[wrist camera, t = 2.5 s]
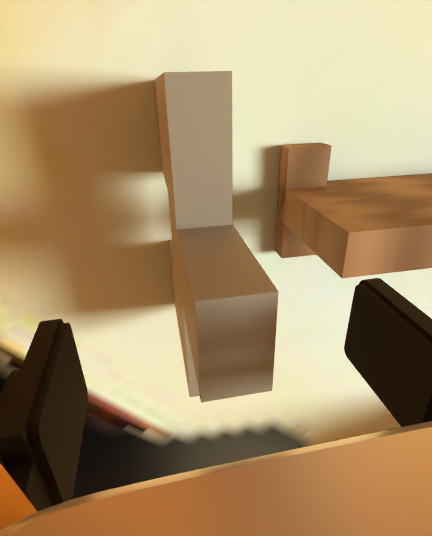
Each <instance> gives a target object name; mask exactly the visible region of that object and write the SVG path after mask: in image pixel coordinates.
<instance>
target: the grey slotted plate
mask: <svg viewBox="0 0 432 536" xmlns="http://www.w3.org/2000/svg"><path fill="white" fill-rule="evenodd" d="M155 90H156V101H157V112H158V123H159V134H160V145H161V156H162V167H163V174H164V178H165V181H166V185H167V189H168V197H169V209H170V220H171V232H172V240H169V244H170V255H171V266H172V277H173V288H174V299H175V307H176V314H177V320H178V326H179V332H180V339H181V345H182V351H183V357H184V364H185V370H186V376H187V382H188V389H189V395H190V397H194V396H200V399H201V402H206V401H212V400H218V399H224V398H230V397H236V396H242V395H248V394H254V393H260V392H266V391H272V384H273V368H274V352H275V336H276V320H277V304H278V290H277V289H276V287H275V286H274V284H273V283H272V282H271V280H270V279H269V277H268V276H267V274H266V273H265V271H264V270H263V268H262V267H261V265H260V264H259V263H258V261H257V260H256V258H255V257H254V255H253V254H252V252H251V251H250V249H249V248H248V247H247V245H246V244H245V242H244V241H243V239H242V238H241V236H240V235H239V233H238V232H237V230H236V229H235V228H234V226H233V213H232V71H213V72H164V73H163V74H162V75H160V76H159V77H158V78H156V79H155Z"/></svg>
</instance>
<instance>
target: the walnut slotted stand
mask: <svg viewBox="0 0 432 536" xmlns="http://www.w3.org/2000/svg"><path fill="white" fill-rule="evenodd" d="M330 152H331V146H330V145H327V144H323V143H311V144H292V145H281V152H280V171H279V189H278V207H277V225H276V244H275V251H276V252H277V253H278V254H279V256H280V257H281V258H288V257H298V256H307V255H318V256H319V257H320V258H321V259H322V260H323V261H324V262H325V263H326V264H327V265H328V266H330V267H331V268H332V269H333V270H334V271H335V272H336V273H337V274H338V275H339V276H340V277H341V278H348V277H357V276H365V275H374V274H382V273H391V272H399V271H408V270H416V269H425V268H432V174H419V175H405V176H391V177H377V178H363V179H349V180H336V181H327V178H328V170H329V161H330Z"/></svg>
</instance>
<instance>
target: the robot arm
mask: <svg viewBox="0 0 432 536" xmlns="http://www.w3.org/2000/svg"><path fill="white" fill-rule="evenodd" d="M344 350H345V354H346V356H347V358H348V359H349V360H350V361H351V363H352V364H353V365H354V367H355V368H356V369H357V370H358V372H359V373H360V374H361V376H362V377H363V378H364V379H365V381H366V382H367V383H368V385H369V386H370V387H371V388H372V390H373V391H374V392H375V393H376V395H377V396H378V397H379V399H380V400H381V401H382V402H383V404H384V405H385V406H386V408H387V409H388V410H389V411H390V413H391V414H392V415H393V416H394V418H395V419H396V420H397V422H398V423H399V424H400V425H401V427H400V428H395V429H390V430H385V431H380V432H375V433H370V434H365V435H360V436H356V437H351V438H346V439H341V440H336V441H331V442H327V443H322V444H317V445H312V446H307V447H302V448H298V449H293V450H288V451H284V452H278V453H274V454H269V455H264V456H259V457H255V458H250V459H245V460H241V461H236V462H231V463H227V464H222V465H218V466H213V467H208V468H203V469H199V470H194V471H189V472H185V473H180V474H175V475H171V476H166V477H162V478H157V479H153V480H148V481H144V482H140V483H135V484H131V485H127V486H122V487H118V488H114V489H109V490H105V491H101V492H97V493H94V494H90V495H86V496H83V497H79V498H76V499H73V493H74V485H75V479H76V473H77V466H78V459H79V453H80V446H81V439H82V433H83V426H84V420H85V413H86V407H87V399H88V394H87V387H86V383H85V379H84V375H83V371H82V368H81V364H80V360H79V356H78V352H77V348H76V345H75V341H74V337H73V333H72V329H71V326H70V324H69V323H63V321H62V319H56V320H48V321H41V322H40V323H39V325H38V328H37V330H36V333H35V335H34V338H33V340H32V343H31V345H30V348H29V350H28V353H27V355H26V358H25V360H24V363H23V365H22V368H21V369H19V370H14V371H12V372H11V373H10V375H9V376H8V379H7V381H6V383H5V385H4V388H3V390H2V393H1V395H0V536H432V319H431V318H430V317H428V316H427V315H426V314H425V313H423V312H422V311H421V310H420V309H418V308H417V307H416V306H414V305H413V304H412V303H411V302H409V301H408V300H407V299H406V298H404V297H403V296H402V295H400V294H399V293H398V292H397V291H395V290H394V289H393V288H392V287H390V286H389V285H388V284H386V283H385V282H384V281H383V280H381V279H379V278H375V279H367V280H362V281H361V282H360V283H359V285H357V286H356V287H355V291H354V296H353V302H352V307H351V313H350V318H349V324H348V329H347V335H346V340H345V346H344Z"/></svg>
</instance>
